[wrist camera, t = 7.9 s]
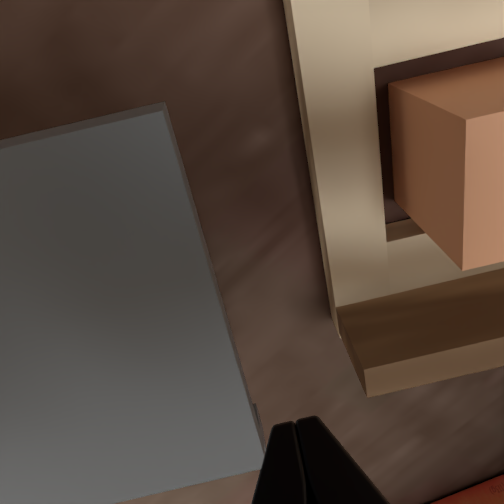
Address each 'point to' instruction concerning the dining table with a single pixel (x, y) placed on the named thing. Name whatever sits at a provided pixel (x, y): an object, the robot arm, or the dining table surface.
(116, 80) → the dining table surface
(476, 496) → the cracker box
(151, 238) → the sliding cover
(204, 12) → the dining table surface
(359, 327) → the puzzle board
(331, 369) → the dining table surface
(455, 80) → the block
